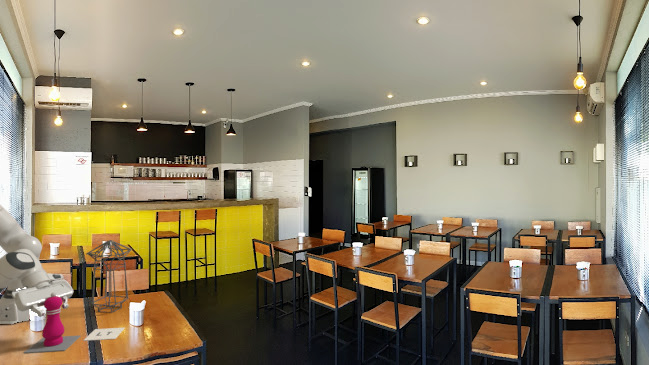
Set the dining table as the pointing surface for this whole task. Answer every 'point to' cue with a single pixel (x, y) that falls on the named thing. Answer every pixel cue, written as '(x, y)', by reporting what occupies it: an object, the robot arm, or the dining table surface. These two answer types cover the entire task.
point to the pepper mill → (53, 321)
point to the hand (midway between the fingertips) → (54, 311)
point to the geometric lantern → (104, 245)
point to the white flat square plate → (104, 334)
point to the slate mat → (60, 347)
